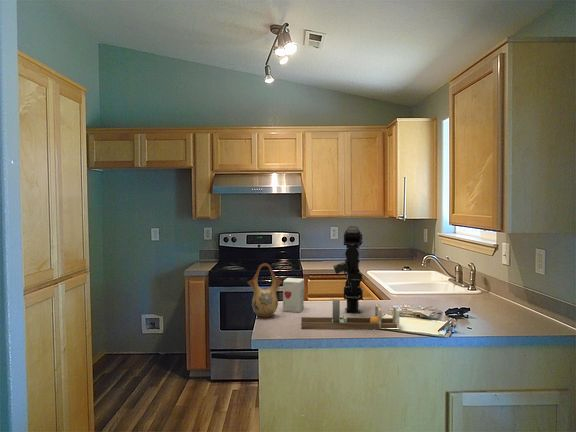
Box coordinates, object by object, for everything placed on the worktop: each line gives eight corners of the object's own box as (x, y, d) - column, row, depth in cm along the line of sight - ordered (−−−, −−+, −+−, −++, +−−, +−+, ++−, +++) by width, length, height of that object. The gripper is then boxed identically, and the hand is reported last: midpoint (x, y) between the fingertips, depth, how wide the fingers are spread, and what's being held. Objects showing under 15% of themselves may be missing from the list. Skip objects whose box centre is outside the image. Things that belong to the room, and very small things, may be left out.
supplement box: (282, 311, 188) (282, 281, 188) (286, 306, 197) (286, 277, 196) (300, 312, 186) (300, 281, 186) (304, 307, 195) (304, 278, 194)
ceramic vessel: (247, 319, 175) (247, 265, 174) (247, 314, 184) (247, 262, 183) (283, 318, 176) (283, 264, 175) (281, 313, 185) (281, 261, 184)
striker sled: (331, 323, 169) (331, 298, 168) (345, 323, 168) (345, 298, 168) (332, 327, 163) (332, 301, 163) (347, 328, 163) (347, 301, 162)
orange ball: (369, 314, 168) (379, 315, 167) (368, 323, 168) (378, 325, 168) (371, 317, 163) (382, 318, 163) (369, 327, 163) (380, 328, 163)
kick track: (301, 322, 171) (301, 303, 170) (394, 323, 169) (394, 304, 169) (301, 328, 162) (301, 308, 162) (399, 329, 161) (399, 309, 161)
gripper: (332, 254, 183) (332, 286, 184) (336, 260, 164) (336, 296, 165) (356, 254, 183) (356, 286, 183) (362, 260, 164) (362, 296, 165)
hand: (352, 291), depth 174 cm, fingers open, 9 cm apart
